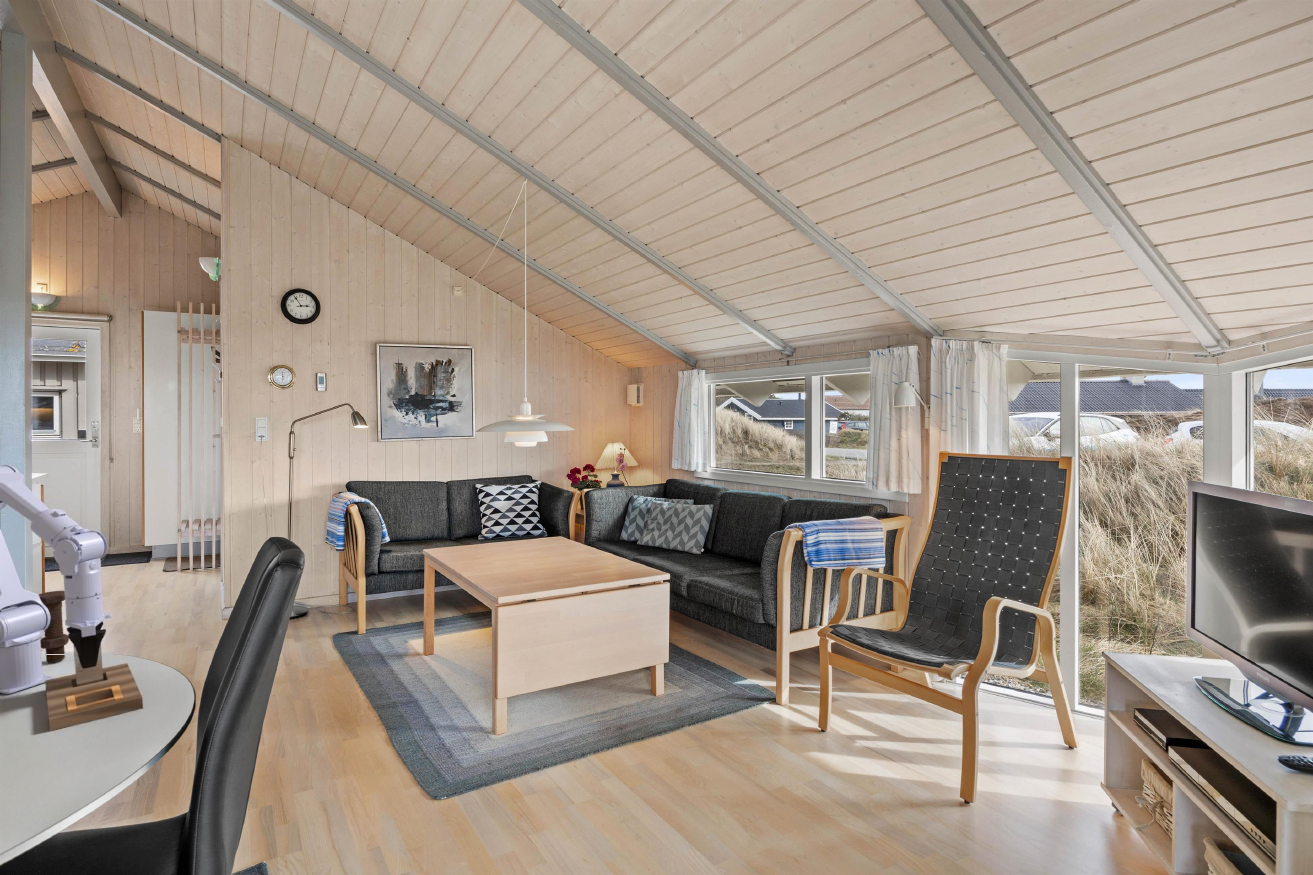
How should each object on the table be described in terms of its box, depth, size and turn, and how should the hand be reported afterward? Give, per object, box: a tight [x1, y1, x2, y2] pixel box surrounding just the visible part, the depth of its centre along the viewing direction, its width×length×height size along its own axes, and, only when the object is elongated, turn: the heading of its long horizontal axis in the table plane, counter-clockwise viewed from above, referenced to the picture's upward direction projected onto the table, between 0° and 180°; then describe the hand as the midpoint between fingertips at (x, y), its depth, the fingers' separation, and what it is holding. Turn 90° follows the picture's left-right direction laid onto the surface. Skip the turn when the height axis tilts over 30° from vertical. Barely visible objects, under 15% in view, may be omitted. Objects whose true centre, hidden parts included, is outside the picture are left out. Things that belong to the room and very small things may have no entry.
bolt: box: [38, 590, 70, 664], centre depth 157 cm, size 6×5×15 cm
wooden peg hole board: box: [44, 662, 144, 732], centre depth 136 cm, size 24×13×2 cm, turn 42°
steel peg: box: [72, 643, 104, 686], centre depth 140 cm, size 4×4×8 cm
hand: (88, 663), depth 140 cm, fingers closed on steel peg, 4 cm apart
